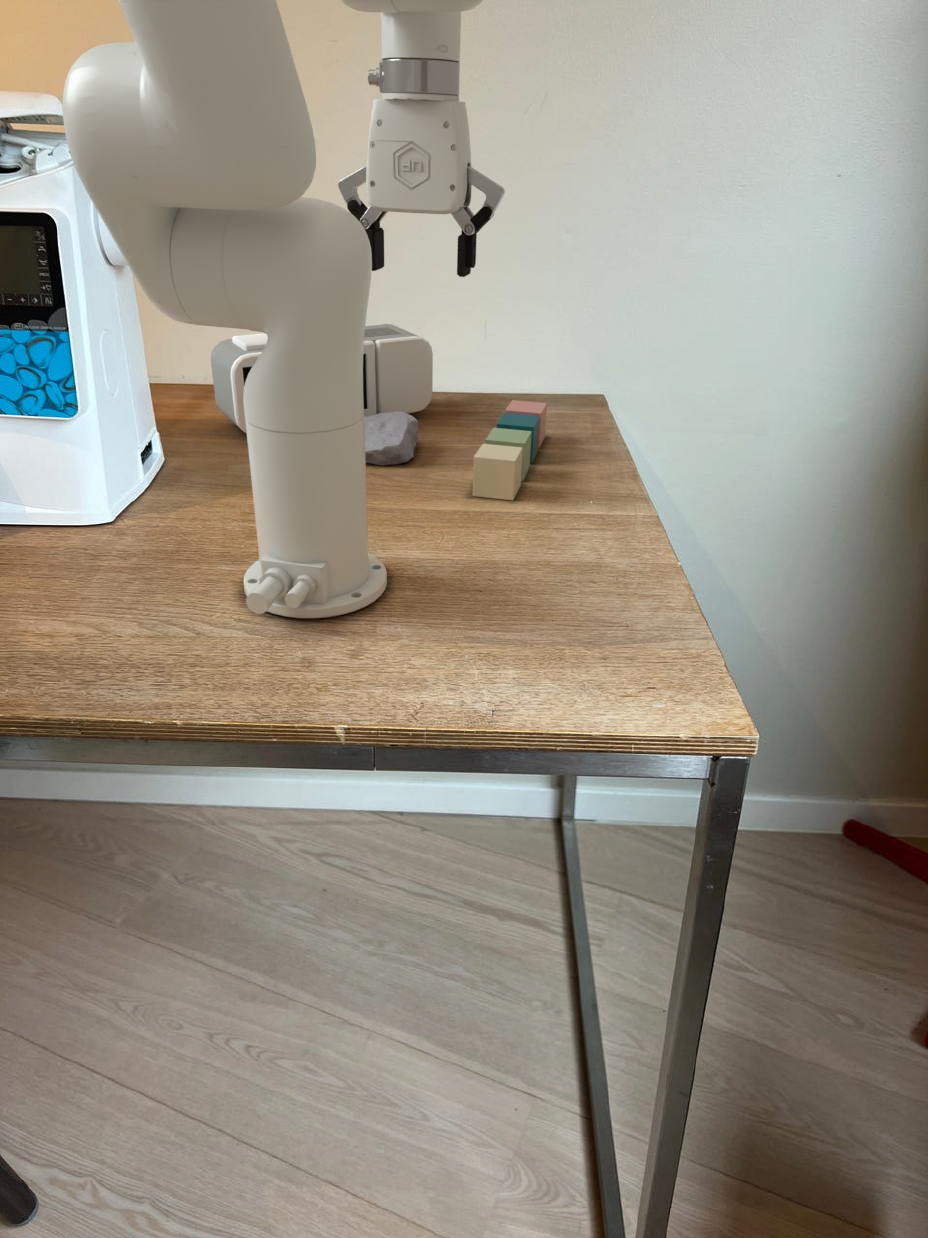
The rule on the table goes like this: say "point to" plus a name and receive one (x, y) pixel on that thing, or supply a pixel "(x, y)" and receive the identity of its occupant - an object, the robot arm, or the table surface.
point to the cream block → (497, 471)
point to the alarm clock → (389, 371)
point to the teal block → (522, 427)
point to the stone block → (390, 438)
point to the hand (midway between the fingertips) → (419, 272)
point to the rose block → (530, 413)
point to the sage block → (513, 443)
